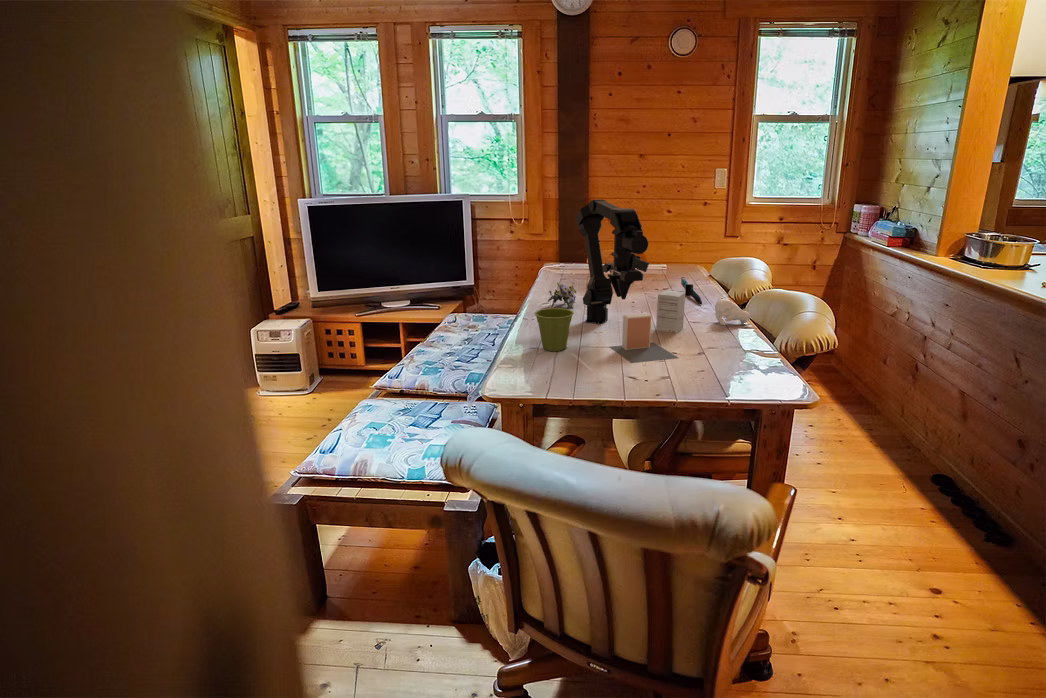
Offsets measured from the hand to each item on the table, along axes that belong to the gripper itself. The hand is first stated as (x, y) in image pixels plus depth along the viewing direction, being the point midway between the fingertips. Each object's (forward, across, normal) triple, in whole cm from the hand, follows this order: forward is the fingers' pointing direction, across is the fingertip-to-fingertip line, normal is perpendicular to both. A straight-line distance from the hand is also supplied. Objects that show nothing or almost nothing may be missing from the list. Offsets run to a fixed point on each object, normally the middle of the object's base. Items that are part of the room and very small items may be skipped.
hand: (621, 298), depth 198 cm
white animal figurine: (+12, 0, -42) cm, 44 cm away
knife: (+12, +41, -49) cm, 65 cm away
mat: (+12, -21, +2) cm, 24 cm away
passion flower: (+12, +41, +6) cm, 43 cm away
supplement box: (+12, 0, -18) cm, 22 cm away
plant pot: (+12, -9, +26) cm, 30 cm away
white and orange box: (+12, -16, +2) cm, 20 cm away
